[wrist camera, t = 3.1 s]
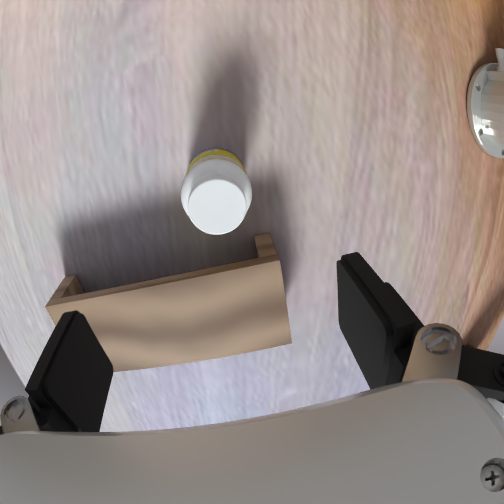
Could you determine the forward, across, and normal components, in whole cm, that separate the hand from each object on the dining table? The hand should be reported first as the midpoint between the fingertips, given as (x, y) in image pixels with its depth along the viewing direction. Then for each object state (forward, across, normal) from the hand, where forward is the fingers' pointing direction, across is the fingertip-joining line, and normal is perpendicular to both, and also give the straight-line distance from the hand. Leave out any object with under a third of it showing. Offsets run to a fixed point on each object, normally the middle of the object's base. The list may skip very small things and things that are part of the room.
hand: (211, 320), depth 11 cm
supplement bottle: (+22, 0, 0) cm, 22 cm away
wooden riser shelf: (+21, +8, +12) cm, 26 cm away
